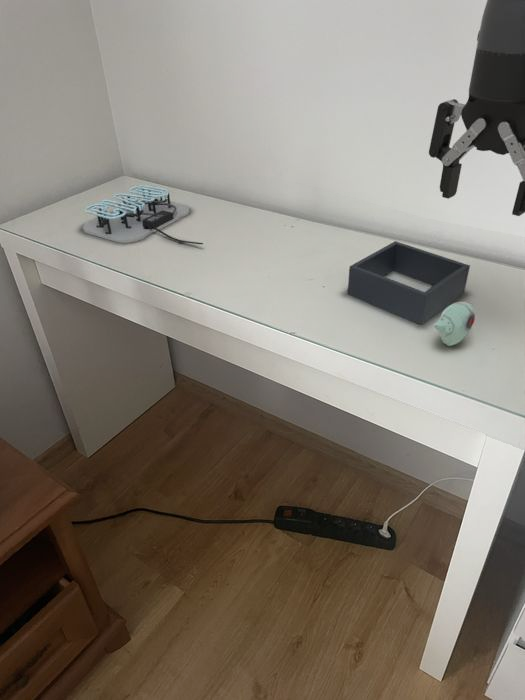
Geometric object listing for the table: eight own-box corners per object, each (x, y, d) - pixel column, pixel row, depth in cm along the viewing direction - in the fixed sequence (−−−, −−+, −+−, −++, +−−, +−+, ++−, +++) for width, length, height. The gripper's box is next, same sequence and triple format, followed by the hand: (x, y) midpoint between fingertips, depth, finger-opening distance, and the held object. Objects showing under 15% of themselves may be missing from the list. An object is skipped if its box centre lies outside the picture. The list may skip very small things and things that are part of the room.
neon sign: (181, 239, 94) (70, 210, 107) (184, 261, 97) (75, 230, 110) (247, 202, 108) (142, 180, 122) (248, 221, 111) (145, 198, 124)
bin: (463, 293, 84) (470, 265, 81) (421, 325, 77) (426, 295, 74) (391, 267, 92) (395, 240, 89) (347, 294, 85) (349, 266, 82)
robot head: (452, 328, 77) (461, 287, 73) (479, 338, 74) (490, 297, 70) (423, 352, 72) (431, 309, 68) (450, 364, 70) (460, 321, 66)
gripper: (609, 44, 50) (558, 210, 59) (468, 36, 58) (443, 183, 68) (580, 53, 45) (529, 231, 55) (432, 44, 54) (410, 199, 63)
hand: (482, 204), depth 61 cm, fingers open, 8 cm apart
